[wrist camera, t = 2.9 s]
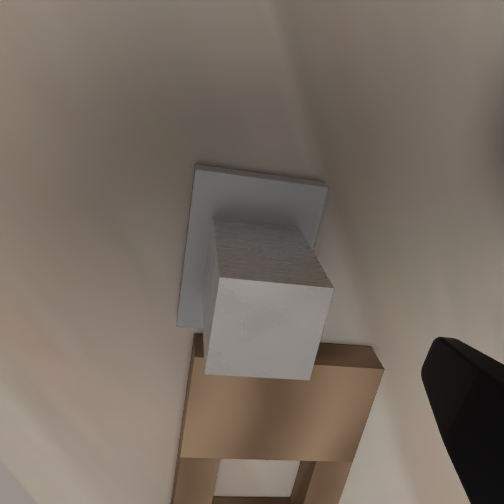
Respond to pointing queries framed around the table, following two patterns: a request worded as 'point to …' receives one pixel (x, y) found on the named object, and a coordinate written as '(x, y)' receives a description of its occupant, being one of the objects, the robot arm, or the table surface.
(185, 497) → the board
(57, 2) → the table surface
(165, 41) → the table surface
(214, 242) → the block
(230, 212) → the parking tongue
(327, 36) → the table surface
